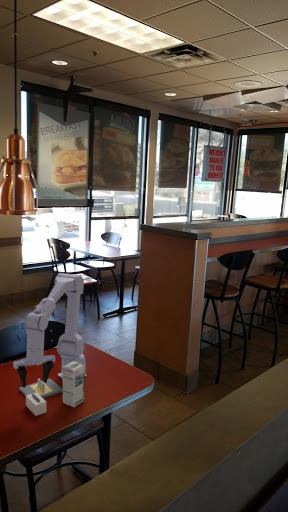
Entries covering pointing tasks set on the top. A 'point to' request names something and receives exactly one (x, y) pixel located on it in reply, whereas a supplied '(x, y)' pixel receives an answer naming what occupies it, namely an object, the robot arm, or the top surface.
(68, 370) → the syrup box
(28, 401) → the block
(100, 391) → the top surface
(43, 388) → the board
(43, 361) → the robot arm
